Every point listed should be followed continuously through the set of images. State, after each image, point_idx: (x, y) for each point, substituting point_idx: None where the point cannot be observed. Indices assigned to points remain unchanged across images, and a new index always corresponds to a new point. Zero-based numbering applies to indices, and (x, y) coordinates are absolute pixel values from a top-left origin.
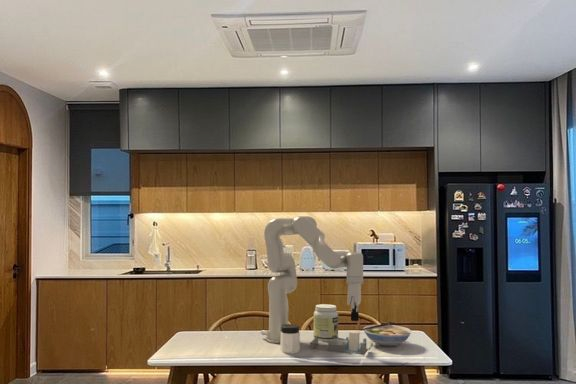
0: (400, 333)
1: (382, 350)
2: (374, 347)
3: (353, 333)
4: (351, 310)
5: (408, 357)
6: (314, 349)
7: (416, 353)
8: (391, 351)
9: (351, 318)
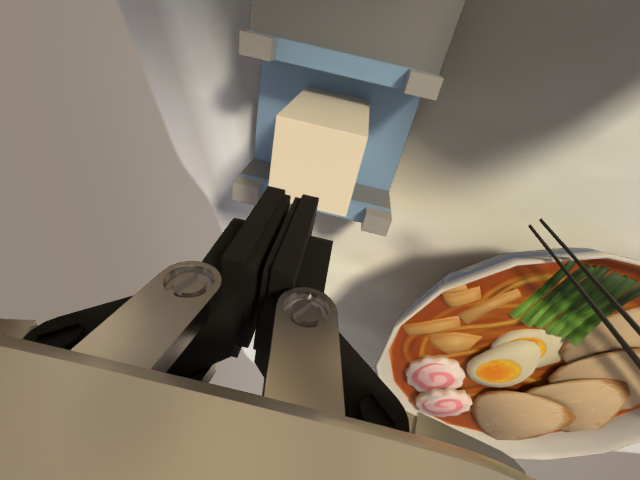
0: (487, 410)
1: (392, 274)
2: (457, 247)
3: (274, 156)
4: (155, 284)
5: None
6: None
7: None
8: (375, 305)
9: (260, 202)
